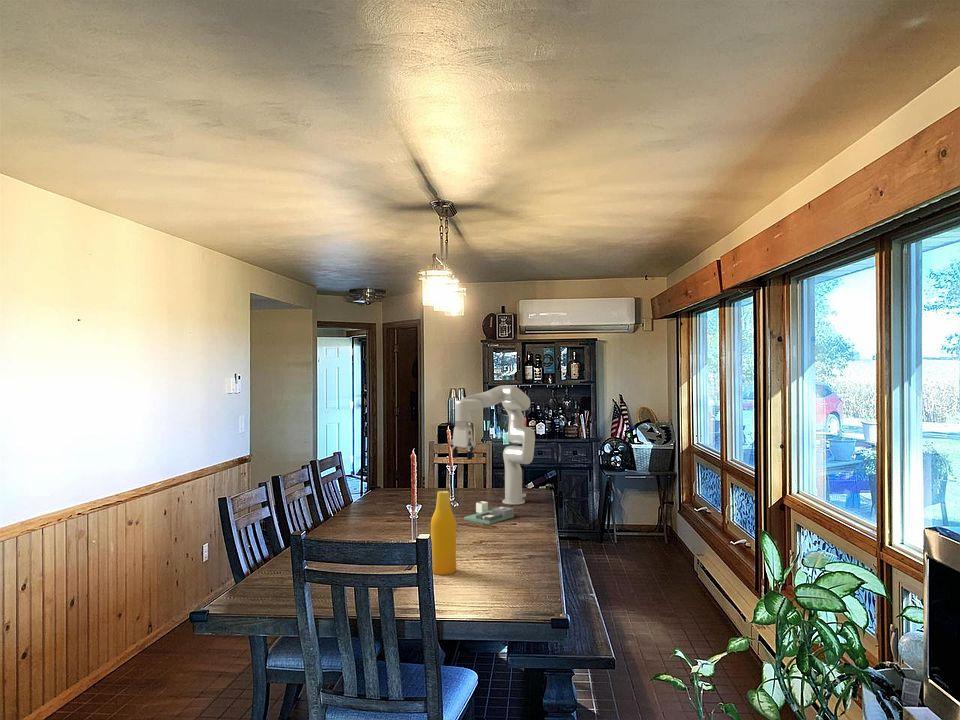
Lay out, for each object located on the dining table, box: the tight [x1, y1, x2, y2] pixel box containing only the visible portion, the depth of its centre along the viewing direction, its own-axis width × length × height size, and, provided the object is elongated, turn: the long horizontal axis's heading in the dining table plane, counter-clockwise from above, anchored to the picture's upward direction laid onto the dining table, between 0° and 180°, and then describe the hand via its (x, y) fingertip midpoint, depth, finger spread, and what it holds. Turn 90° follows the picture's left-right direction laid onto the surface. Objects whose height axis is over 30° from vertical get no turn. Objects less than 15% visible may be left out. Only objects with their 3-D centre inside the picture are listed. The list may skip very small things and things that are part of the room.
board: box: [463, 509, 515, 525], centre depth 319 cm, size 20×16×1 cm
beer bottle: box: [430, 490, 457, 576], centre depth 234 cm, size 9×9×29 cm
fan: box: [491, 506, 515, 517], centre depth 321 cm, size 8×8×4 cm
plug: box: [475, 500, 489, 513], centre depth 333 cm, size 5×4×5 cm
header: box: [476, 512, 502, 521], centre depth 314 cm, size 10×9×2 cm
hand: (462, 458), depth 323 cm, fingers open, 9 cm apart
